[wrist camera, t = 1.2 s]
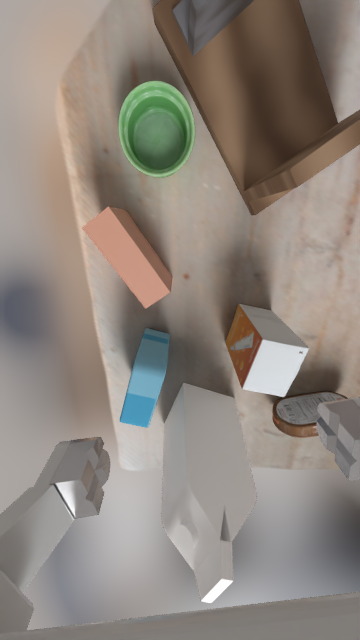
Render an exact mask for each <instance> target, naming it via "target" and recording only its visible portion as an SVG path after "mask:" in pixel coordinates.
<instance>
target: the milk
mask: <svg viewBox="0 0 360 640" xmlns="http://www.w3.org/2000/svg"><path fill="white" fill-rule="evenodd" d="M256 498H257V494H256V488H255V483H254V479H253V475H252V470H251V466H250V461H249V457H248V453H247V448H246V444H245V440H244V435H243V431H242V427H241V422H240V418H239V414H238V409H237V405H236V400H235V398H233V397H230V396H226V395H223V394H220V393H216V392H213V391H210V390H206V389H203V388H200V387H196V386H193V385H190V384H186V383H183V385H182V387H181V389H180V391H179V393H178V395H177V397H176V400H175V402H174V404H173V406H172V408H171V410H170V412H169V415H168V417H167V419H166V421H165V423H164V448H163V483H162V513H161V514H162V515H161V517H162V524H163V528H164V529H165V532H166V534H167V535H168V537H169V538H170V540H171V541H172V542H173V544H174V545H175V546H176V548H177V549H178V550H179V552H180V553H181V554H182V556H183V557H184V558H185V560H186V561H187V563H188V564H189V566H190V567H191V568H192V570H193V571H195V577H196V582H197V587H198V591H199V596H200V601H202V602H208V603H212V602H213V601H214V600H215V599H216V598H217V597H218V596H219V595H220V594H221V593H222V592H223V591H224V590H225V589H226V588H227V587H228V586H229V585H230V584H231V583H232V582H233V560H232V544H231V542H232V541H233V539H234V538H235V536H236V535H237V533H238V532H239V530H240V528H241V527H242V525H243V524H244V522H245V521H246V519H247V518H248V516H249V515H250V513H251V512H252V510H253V508H254V506H255V503H256Z"/></svg>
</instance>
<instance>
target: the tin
mask: <svg viewBox="0 0 360 640" xmlns="http://www.w3.org/2000/svg"><path fill="white" fill-rule="evenodd" d="M342 399H348V398H347V397H345V396H343V395H341V394H338V393H334V392H326V391H324V392H316V393H309V394H302V395H296V396H289V397H284V398H281V399H279V400H277V401H276V402H275V403H274V405H273V422H274V424H275V426H276V427H277V428H278V429H279V430H280V431H282V432H283V433H285V434H287V435H289V436H292V437H297V438H306V437H314V436H319V435H318V431H317V420H318V419H319V417H320V414H319V413H318V412H317V409H318V405H319V403H324V402H330V401H336V400H342Z"/></svg>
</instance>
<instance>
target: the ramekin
mask: <svg viewBox="0 0 360 640" xmlns="http://www.w3.org/2000/svg"><path fill="white" fill-rule="evenodd" d="M118 132H119V139H120V143H121V146H122V149H123V151H124V153H125V155H126V157H127V159H128V160H129V162H130V163H131V164H132V165H133V166H134V167H135V168H136V169H137V170H139V171H140V172H142V173H144V174H146V175H149V176H153V177H158V178H160V177H161V178H163V177H168V176H170V175H172V174H174V173H175V172H177V171H178V170H179V169H180V168H181V167H182V166H183V165H184V164H185V162H186V161H187V159H188V158H189V156H190V154H191V151H192V148H193V145H194V139H195V122H194V117H193V113H192V110H191V108H190V106H189V104H188V102H187V100H186V99H185V97H184V96H183V95H182V93H181V92H180V91H179V90H177V89H176V88H175V87H174V86H172V85H170V84H168V83H166V82H163V81H148V82H144V83H142V84H140V85H138V86H137V87H135V88H134V89H133V90H132V91H131V92H130V93H129V94H128V95H127V97H126V98H125V100H124V102H123V104H122V107H121V110H120V114H119V121H118Z"/></svg>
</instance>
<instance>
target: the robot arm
mask: <svg viewBox="0 0 360 640" xmlns="http://www.w3.org/2000/svg"><path fill="white" fill-rule="evenodd" d="M317 412H318V413H319V414H320V417H319V419H318V420H317V431H318V435H319V437H320V439H321V441H322V443H323V445H324V446H325V448H326V449H328V450H329V451H331V452H332V453H334V454H335V462H336V463H337V465H338V466H339V468H340V469H341V471H342V472H343V473H344V475H345V476H346V478H347V479H348V480H358V479H360V397H355V398H349V399H342V400H336V401H330V402H324V403H319V405H318V409H317ZM103 445H104V443H103V440H102V438H101V437H94V438H85V439H77V440H71V441H63V442H60V443H59V444H57V445H56V447H55V449H54V451H53V453H52V454H51V456H50V458H49V460H48V462H47V464H46V466H45V467H44V469H43V471H42V473H41V474H40V476H39V478H38V480H37V482H36V484H35V485H34V487H32V488H29V489H28V490H26V491H25V492H24V493H23V494H22V495H21V496H20V497H19V498H18V499H17V500H16V501H14V502H13V503H12V504H11V505H10V506H9V507H8V508H7V509H6V510H5V511H4V512H2V513H1V514H0V640H360V592H353V593H344V594H336V595H327V596H319V597H310V598H301V599H293V600H285V601H276V602H267V603H258V604H250V605H241V606H233V607H225V608H216V609H207V610H198V611H191V612H182V613H173V614H164V615H156V616H147V617H138V618H130V619H121V620H113V621H104V622H96V623H88V624H78V625H70V626H61V627H53V628H44V629H36V630H27V627H28V625H29V622H30V619H31V616H32V613H33V610H34V608H33V604H32V602H31V601H30V600H29V599H28V598H27V597H26V596H25V595H24V594H23V592H24V590H25V589H26V587H27V586H28V585H29V583H30V582H31V580H32V579H33V578H34V576H35V575H36V573H37V572H38V571H39V569H40V568H41V566H42V565H43V564H44V562H45V561H46V559H47V558H48V557H49V555H50V554H51V552H52V551H53V550H54V548H55V547H56V545H57V544H58V543H59V541H60V540H61V538H62V537H63V536H64V534H65V533H66V531H67V530H68V529H69V527H70V526H71V524H72V523H73V522H74V519H76V518H82V517H87V516H94V515H98V514H99V511H100V507H101V504H102V500H103V496H104V491H103V489H102V486H103V485H104V484H105V483H106V481H107V480H108V476H109V472H110V459H109V455H108V452H107V451H105V450H104V449H102V448H103ZM26 630H27V631H26Z"/></svg>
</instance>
